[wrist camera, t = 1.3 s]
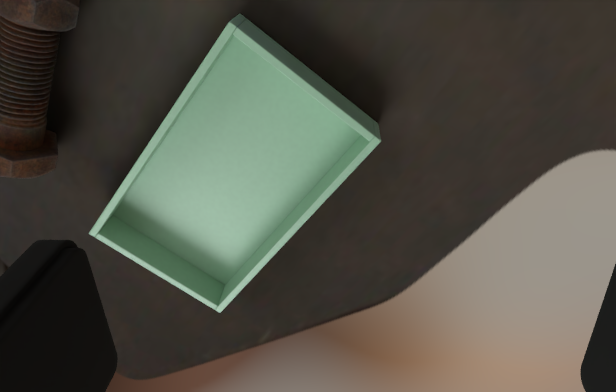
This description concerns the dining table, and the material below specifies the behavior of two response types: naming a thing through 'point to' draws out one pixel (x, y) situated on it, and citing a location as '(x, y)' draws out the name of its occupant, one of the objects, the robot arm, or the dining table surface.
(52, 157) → the bolt
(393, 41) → the dining table surface
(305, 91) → the tray
